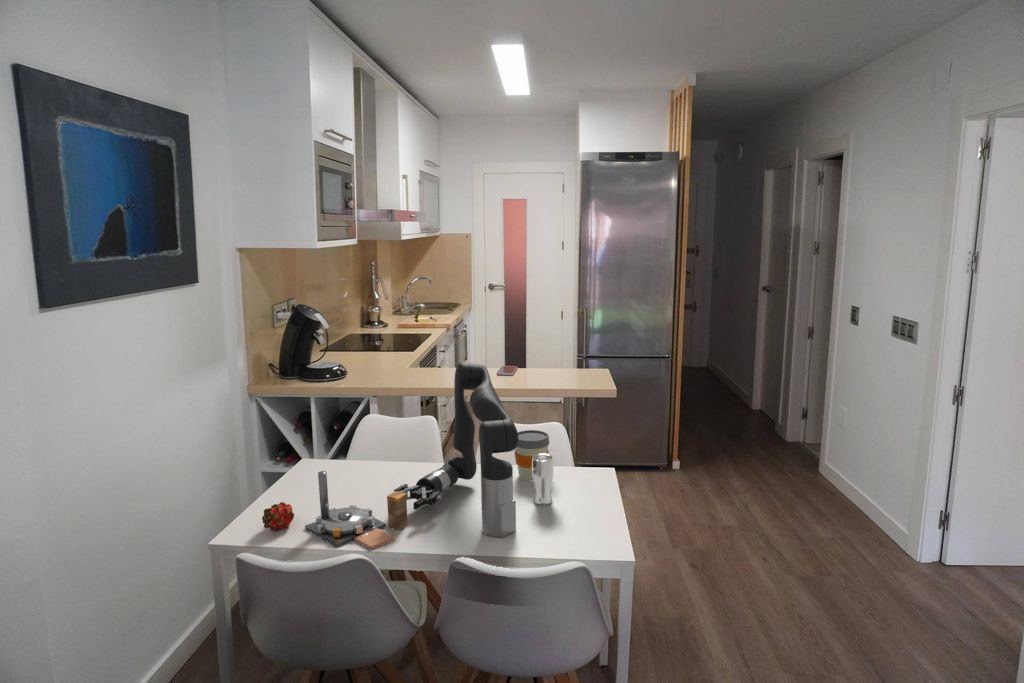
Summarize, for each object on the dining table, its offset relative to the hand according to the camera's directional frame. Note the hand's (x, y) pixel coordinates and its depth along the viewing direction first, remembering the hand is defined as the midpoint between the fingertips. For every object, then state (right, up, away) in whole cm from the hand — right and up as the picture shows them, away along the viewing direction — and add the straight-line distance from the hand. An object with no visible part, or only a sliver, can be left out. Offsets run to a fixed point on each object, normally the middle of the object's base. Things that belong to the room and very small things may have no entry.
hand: (402, 503), depth 205 cm
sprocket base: (-17, -7, -2) cm, 18 cm away
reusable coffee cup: (+40, +1, +36) cm, 54 cm away
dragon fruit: (-37, -7, -1) cm, 37 cm away
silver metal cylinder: (+43, -3, +15) cm, 45 cm away
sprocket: (-17, -6, -2) cm, 18 cm away
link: (-1, -6, -1) cm, 7 cm away
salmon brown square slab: (-7, -8, -10) cm, 14 cm away
